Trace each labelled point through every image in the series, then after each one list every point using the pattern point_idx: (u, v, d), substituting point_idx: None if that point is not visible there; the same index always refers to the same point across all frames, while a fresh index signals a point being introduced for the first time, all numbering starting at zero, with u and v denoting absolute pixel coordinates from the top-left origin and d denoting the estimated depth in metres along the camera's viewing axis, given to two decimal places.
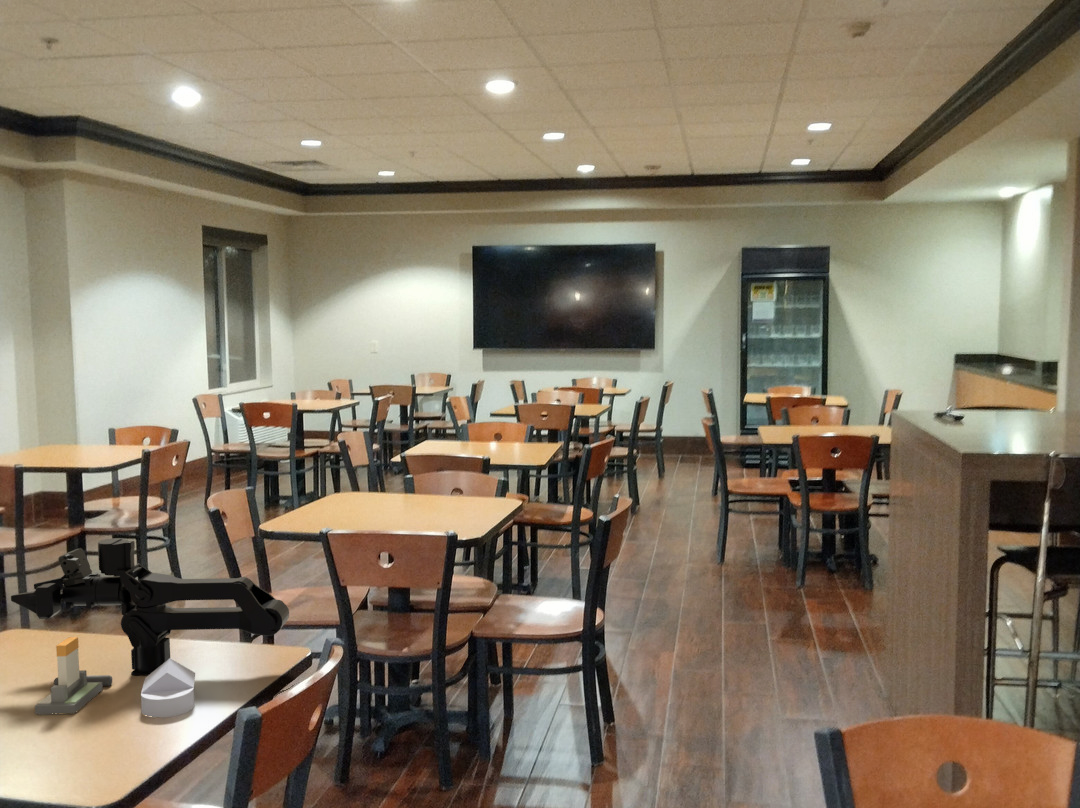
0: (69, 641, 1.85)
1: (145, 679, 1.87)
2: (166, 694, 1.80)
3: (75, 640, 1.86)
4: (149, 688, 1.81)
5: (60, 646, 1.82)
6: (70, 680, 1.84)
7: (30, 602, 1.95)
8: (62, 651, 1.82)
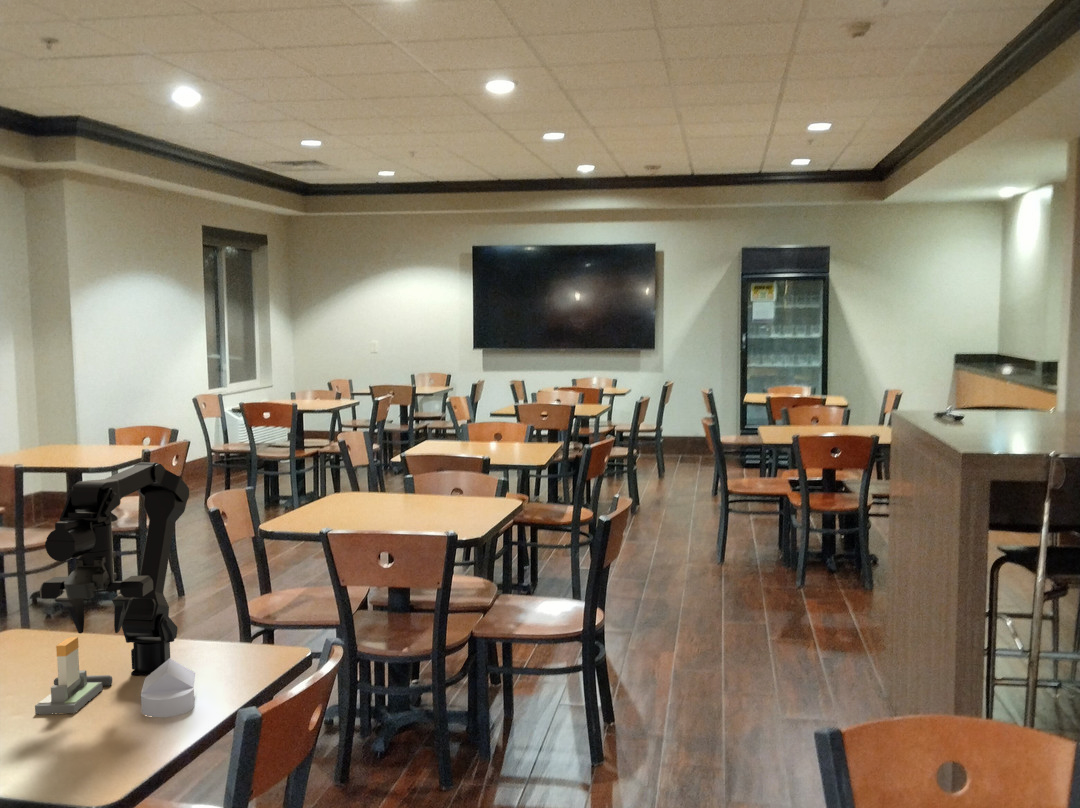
0: (69, 641, 1.85)
1: (145, 679, 1.87)
2: (167, 694, 1.80)
3: (75, 640, 1.86)
4: (149, 688, 1.81)
5: (60, 646, 1.82)
6: (70, 680, 1.84)
7: (124, 608, 1.85)
8: (62, 651, 1.82)
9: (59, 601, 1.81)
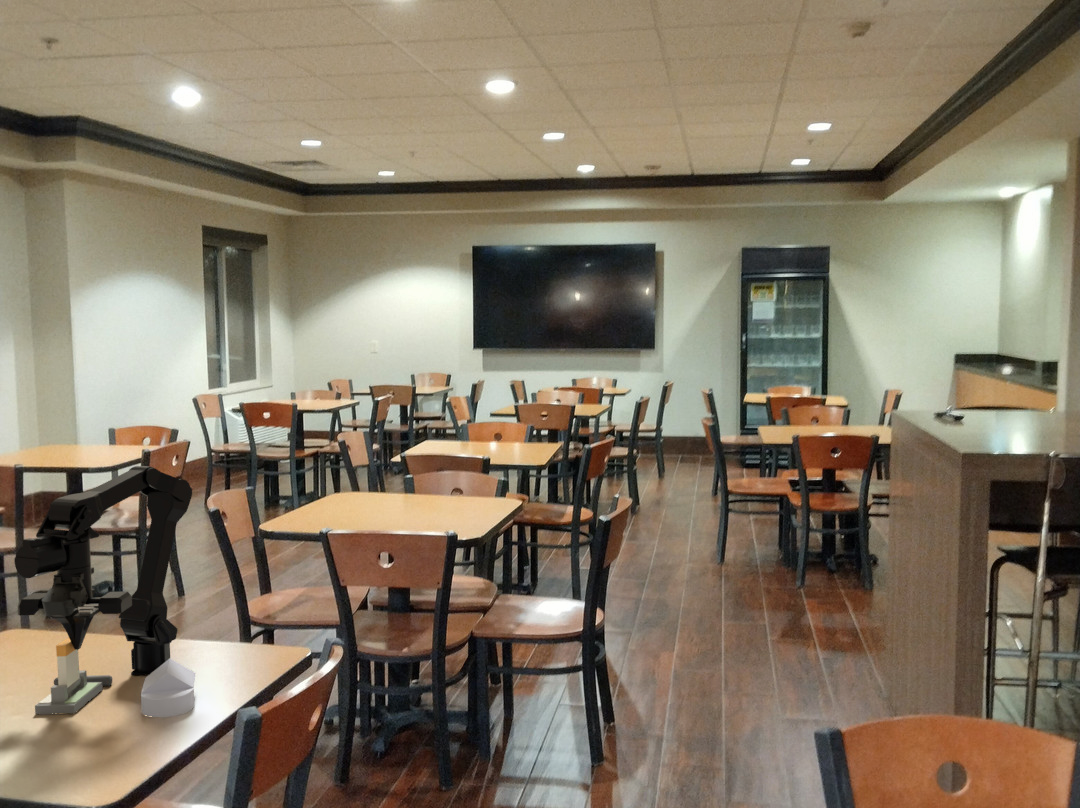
0: (69, 641, 1.85)
1: (145, 679, 1.87)
2: (167, 694, 1.80)
3: None
4: (149, 688, 1.81)
5: (60, 646, 1.82)
6: (70, 680, 1.84)
7: (85, 625, 1.85)
8: (62, 651, 1.82)
9: (55, 617, 1.82)
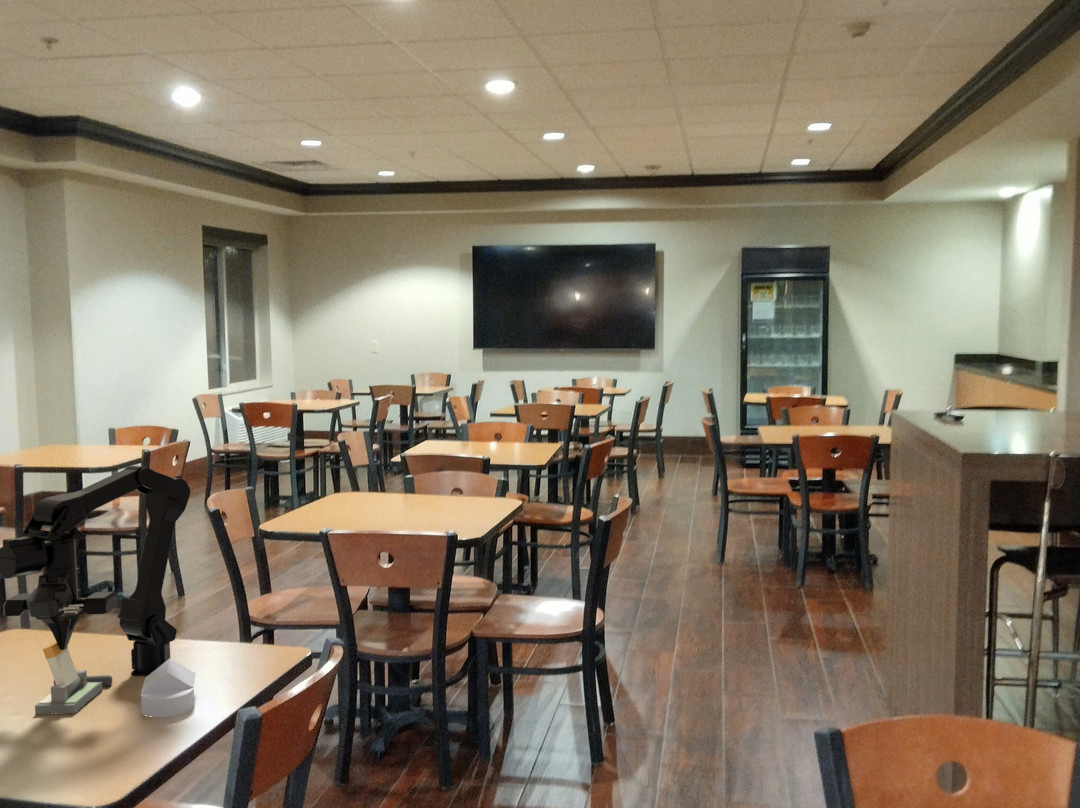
0: (55, 643, 1.85)
1: (145, 679, 1.87)
2: (167, 694, 1.80)
3: None
4: (149, 688, 1.81)
5: (46, 648, 1.82)
6: (67, 679, 1.84)
7: (71, 625, 1.85)
8: (50, 653, 1.82)
9: (40, 618, 1.82)
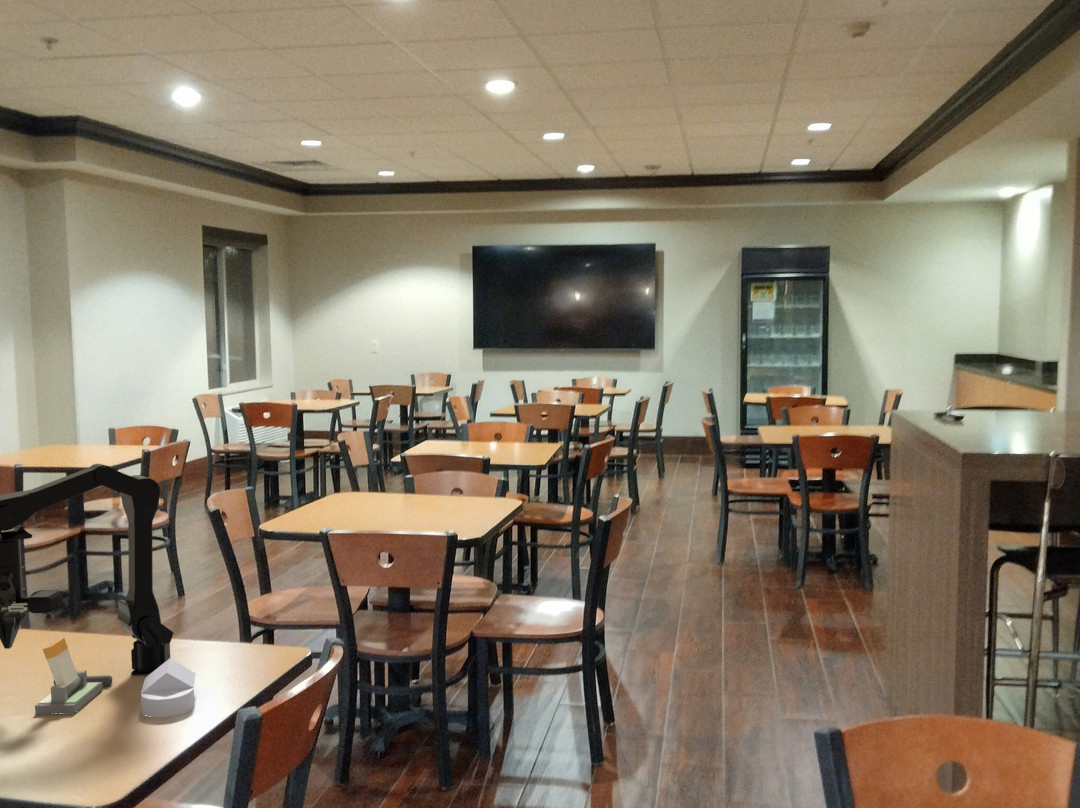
0: (55, 643, 1.85)
1: (145, 679, 1.87)
2: (166, 694, 1.80)
3: (62, 641, 1.86)
4: (149, 688, 1.81)
5: (46, 648, 1.82)
6: (67, 679, 1.84)
7: (16, 624, 1.85)
8: (50, 653, 1.82)
9: None
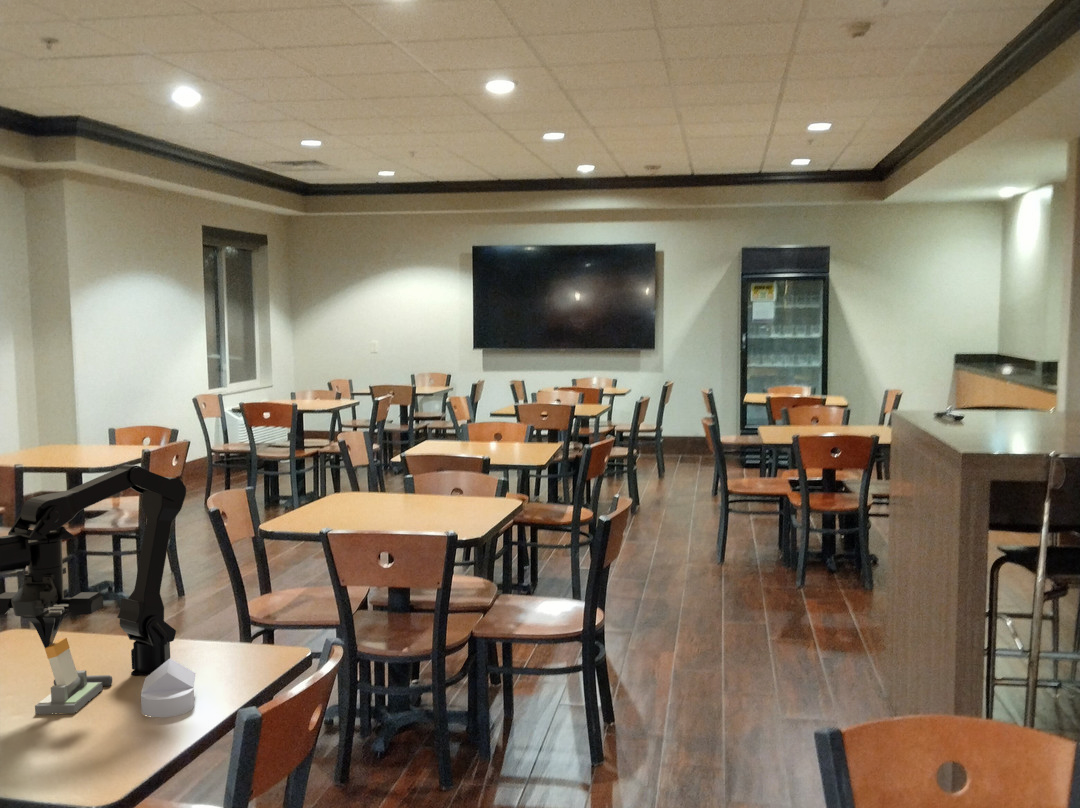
0: (57, 642, 1.85)
1: (145, 679, 1.87)
2: (167, 694, 1.80)
3: (64, 640, 1.86)
4: (149, 688, 1.81)
5: (49, 648, 1.82)
6: (67, 679, 1.84)
7: (55, 625, 1.85)
8: (52, 652, 1.82)
9: (26, 617, 1.82)
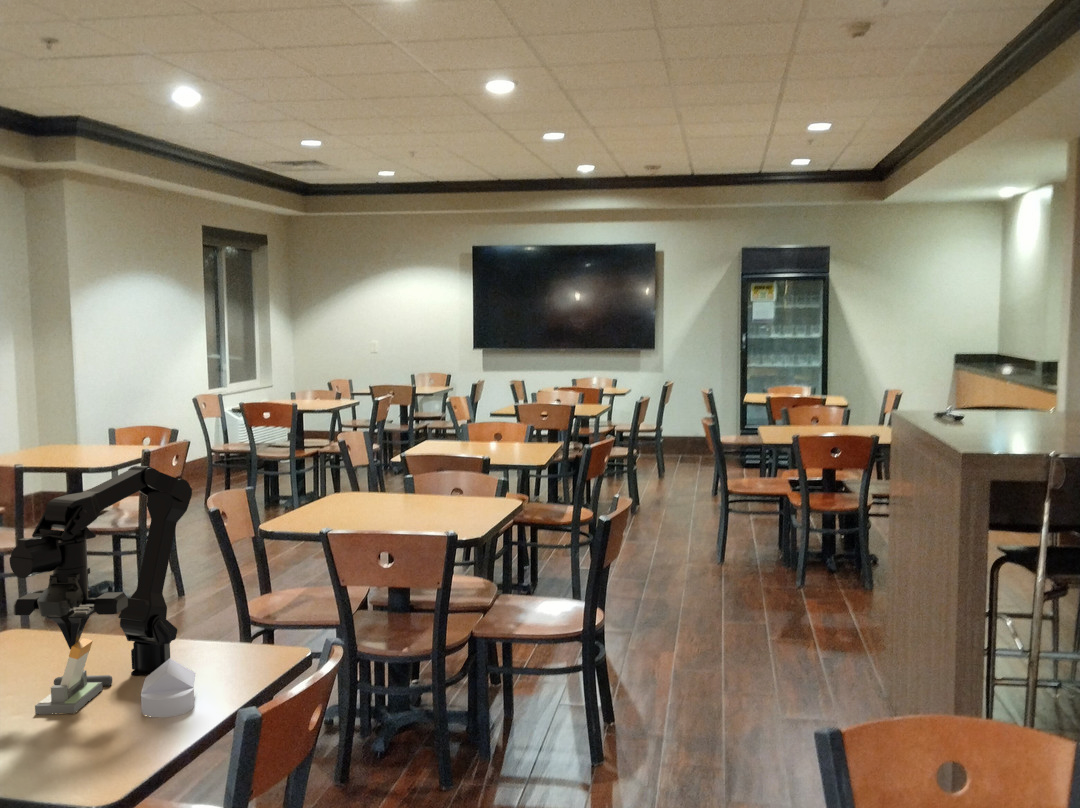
0: (84, 644, 1.85)
1: (145, 679, 1.87)
2: (167, 694, 1.80)
3: (89, 644, 1.86)
4: (149, 688, 1.81)
5: (75, 648, 1.82)
6: (72, 682, 1.84)
7: (80, 625, 1.85)
8: (75, 654, 1.82)
9: (50, 618, 1.82)
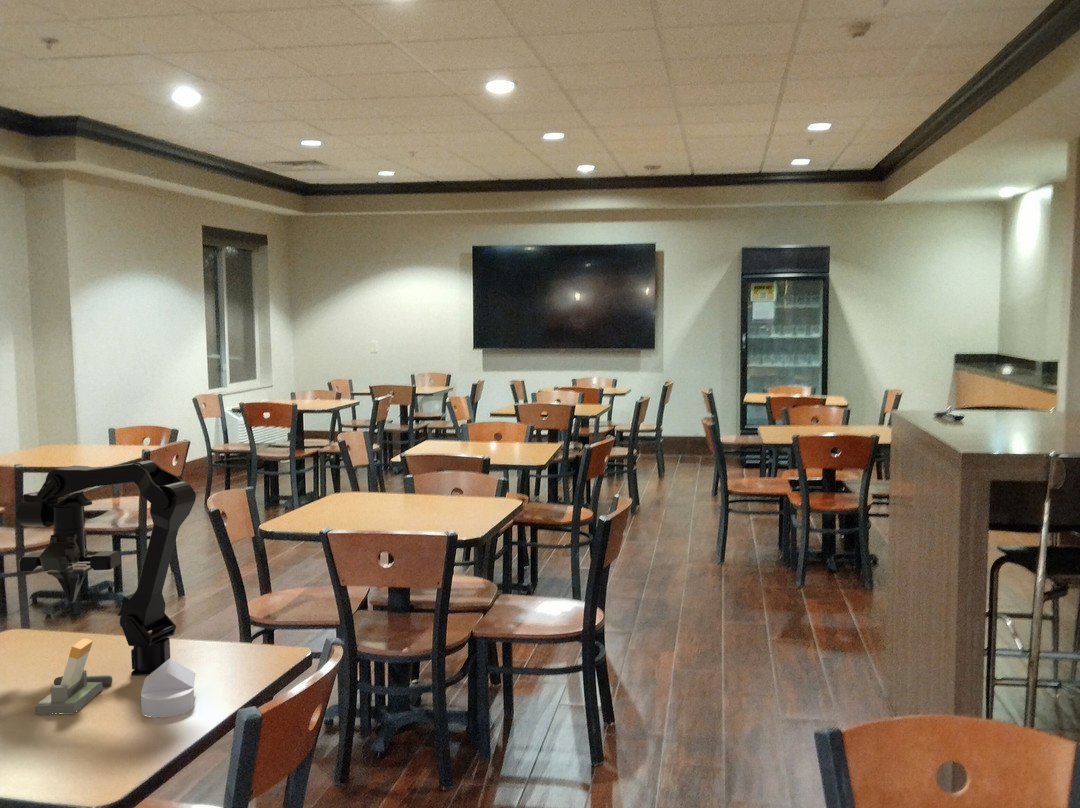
0: (84, 644, 1.85)
1: (145, 679, 1.87)
2: (166, 694, 1.80)
3: (89, 644, 1.86)
4: (149, 688, 1.81)
5: (75, 648, 1.82)
6: (72, 682, 1.84)
7: (79, 580, 2.07)
8: (76, 654, 1.82)
9: (51, 573, 2.03)
